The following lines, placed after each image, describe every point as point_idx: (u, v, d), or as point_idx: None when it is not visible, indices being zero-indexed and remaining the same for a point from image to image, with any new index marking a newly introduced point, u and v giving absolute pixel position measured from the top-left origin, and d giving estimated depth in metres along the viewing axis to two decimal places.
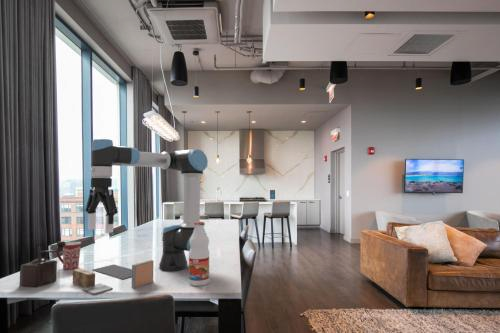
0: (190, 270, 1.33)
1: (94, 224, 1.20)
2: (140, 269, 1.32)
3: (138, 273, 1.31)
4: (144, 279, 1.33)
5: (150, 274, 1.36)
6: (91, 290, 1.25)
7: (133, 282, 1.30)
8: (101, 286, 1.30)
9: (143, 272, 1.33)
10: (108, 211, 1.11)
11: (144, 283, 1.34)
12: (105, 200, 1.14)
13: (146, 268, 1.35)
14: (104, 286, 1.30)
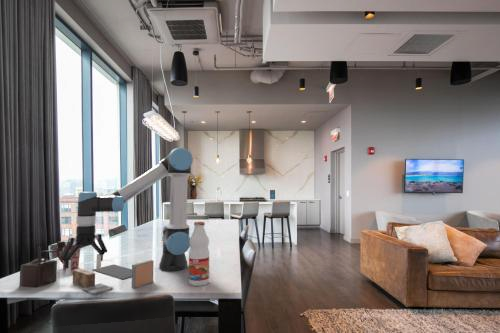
0: (190, 270, 1.33)
1: (98, 264, 1.39)
2: (140, 269, 1.32)
3: (138, 273, 1.31)
4: (144, 279, 1.33)
5: (150, 274, 1.36)
6: (91, 290, 1.25)
7: (133, 282, 1.30)
8: (101, 286, 1.30)
9: (143, 272, 1.33)
10: None
11: (144, 283, 1.34)
12: (74, 246, 1.32)
13: (146, 268, 1.35)
14: (104, 286, 1.30)
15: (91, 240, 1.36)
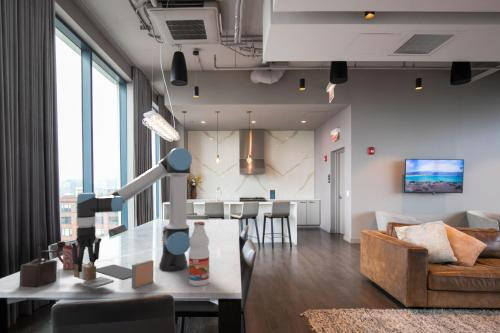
0: (190, 270, 1.33)
1: None
2: (140, 269, 1.32)
3: (138, 273, 1.31)
4: (144, 279, 1.33)
5: (150, 274, 1.36)
6: (92, 283, 1.25)
7: (133, 282, 1.30)
8: (102, 279, 1.30)
9: (143, 272, 1.33)
10: None
11: (144, 283, 1.34)
12: (80, 249, 1.33)
13: (146, 268, 1.35)
14: (105, 279, 1.30)
15: (91, 242, 1.35)
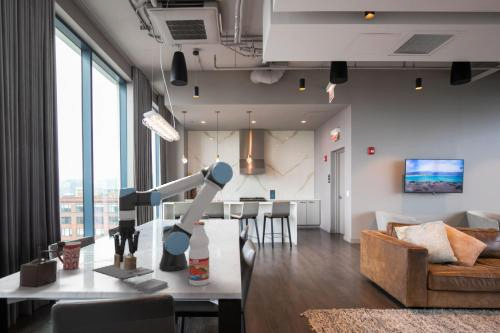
0: (190, 270, 1.33)
1: None
2: None
3: None
4: None
5: None
6: (135, 272, 1.33)
7: (137, 288, 1.28)
8: (143, 269, 1.38)
9: None
10: None
11: None
12: (121, 240, 1.41)
13: None
14: (145, 269, 1.38)
15: (131, 234, 1.43)
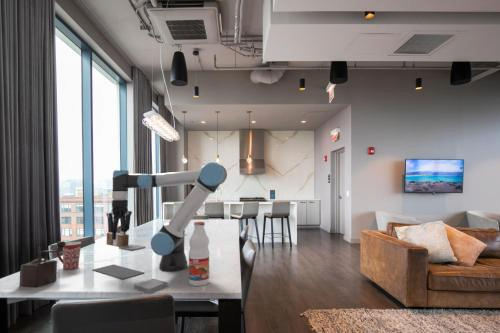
0: (190, 270, 1.33)
1: None
2: None
3: None
4: None
5: None
6: (127, 248, 1.42)
7: (137, 288, 1.28)
8: (135, 245, 1.47)
9: None
10: None
11: None
12: (114, 219, 1.50)
13: None
14: (137, 245, 1.47)
15: (124, 213, 1.52)
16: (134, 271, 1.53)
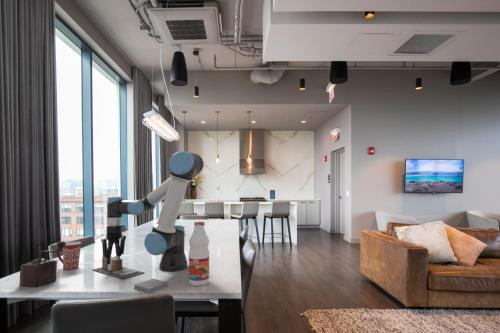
0: (190, 270, 1.33)
1: None
2: None
3: None
4: None
5: None
6: (120, 273, 1.47)
7: (137, 288, 1.28)
8: (128, 270, 1.52)
9: None
10: None
11: None
12: (108, 244, 1.55)
13: None
14: (130, 270, 1.52)
15: (118, 238, 1.57)
16: None
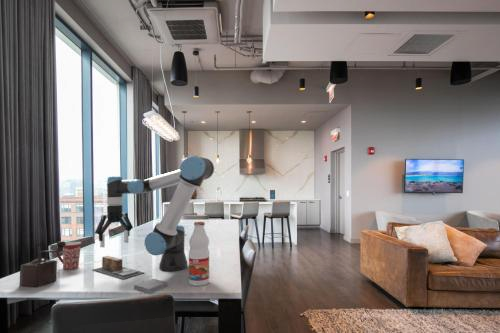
0: (190, 270, 1.33)
1: (126, 239, 1.62)
2: None
3: None
4: None
5: None
6: (120, 273, 1.47)
7: (137, 288, 1.28)
8: (128, 270, 1.52)
9: None
10: None
11: None
12: (106, 222, 1.54)
13: None
14: (130, 270, 1.52)
15: (120, 217, 1.58)
16: None
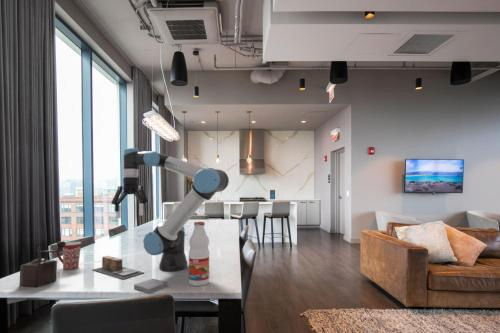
0: (190, 270, 1.33)
1: (141, 211, 1.62)
2: None
3: None
4: None
5: None
6: (120, 273, 1.47)
7: (137, 288, 1.28)
8: (128, 270, 1.52)
9: None
10: None
11: None
12: (122, 194, 1.54)
13: None
14: (130, 270, 1.52)
15: (135, 190, 1.58)
16: None
